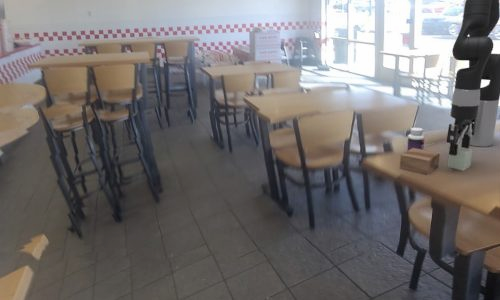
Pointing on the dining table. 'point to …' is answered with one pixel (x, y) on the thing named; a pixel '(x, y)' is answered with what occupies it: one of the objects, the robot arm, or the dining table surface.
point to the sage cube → (460, 159)
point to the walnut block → (419, 160)
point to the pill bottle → (415, 139)
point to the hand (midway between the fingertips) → (458, 151)
